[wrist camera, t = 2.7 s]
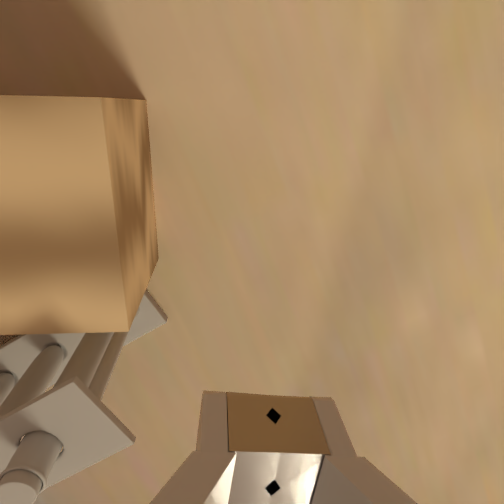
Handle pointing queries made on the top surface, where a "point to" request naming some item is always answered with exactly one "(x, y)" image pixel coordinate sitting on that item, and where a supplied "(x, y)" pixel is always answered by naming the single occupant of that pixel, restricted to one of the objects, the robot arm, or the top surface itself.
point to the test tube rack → (60, 404)
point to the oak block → (74, 213)
